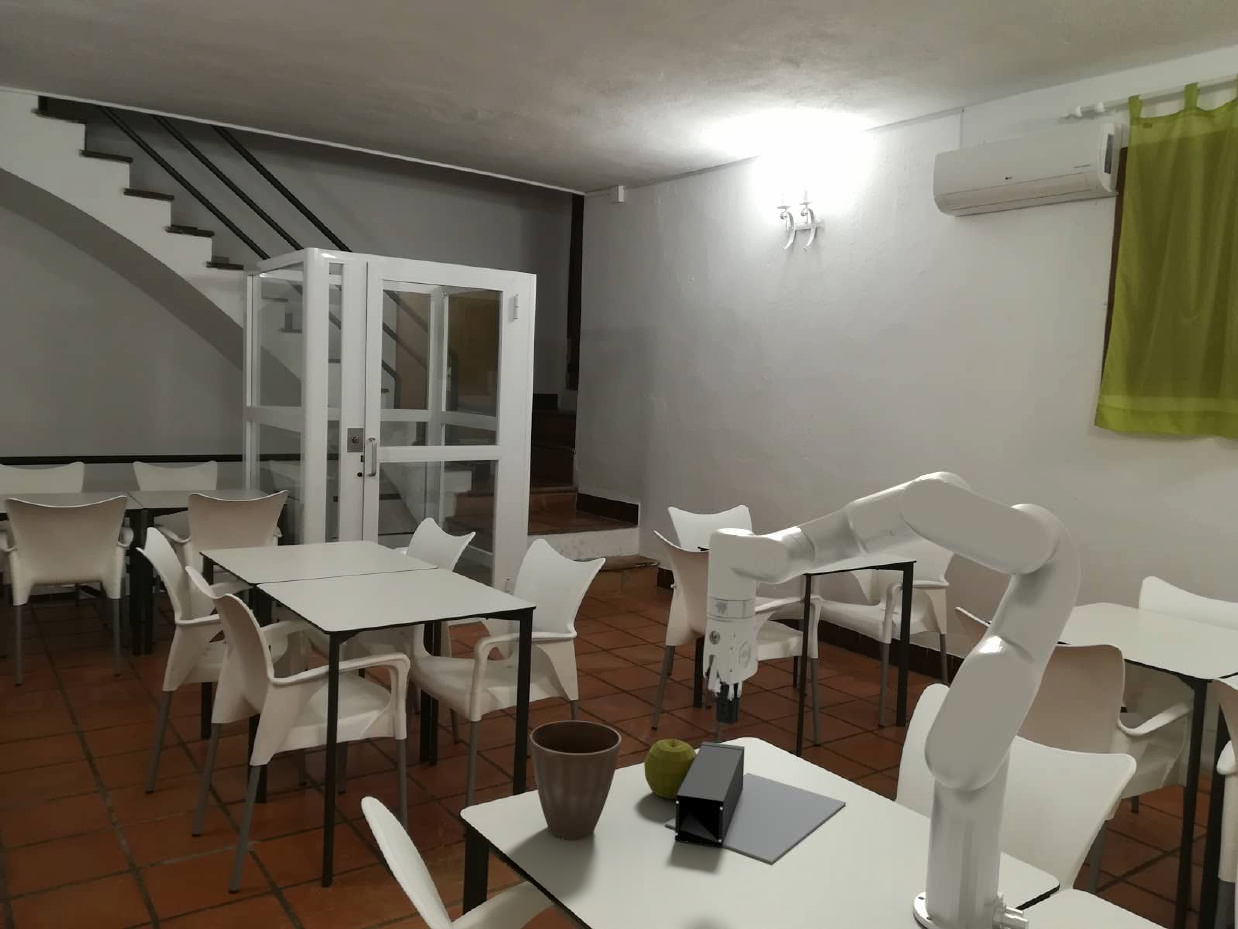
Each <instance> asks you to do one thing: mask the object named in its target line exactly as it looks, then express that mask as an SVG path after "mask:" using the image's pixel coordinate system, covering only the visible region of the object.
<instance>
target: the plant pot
mask: <svg viewBox="0 0 1238 929" xmlns="http://www.w3.org/2000/svg"><path fill="white" fill-rule="evenodd" d="M529 740H530V747H531V748H530V750H531V759H532V767H533V773H534V779H535V780H534V781H535V784H536V787H537V793H538V798H539V802H540V806H541V809H542V812H543V815H544V816H543V817H544V818H545V822H546V825H547V828H548V830H549V833H550V832H551V833H552V834H551V833H550V834H551V835H552V836H554V835H555V836H554V837H556V838H558V837H559V839H561V838H564V839H563V840H566V839H570V840H569V841H577V839H579V840H583V839H582V838H584V839H586V838H588V837H590V836H591V835H592V834H593V833H594V831H595V829H596V826H597V825H598V823H599V821H600V818H601V816H602V812H603V810H604V807H605V805H606V802H607V799H608V795H609V793H610V790H611V786H612V783H613V781H614V776H615V772H616V768H617V764H618V759H619V754H620V749H621V742H622V737H621V734H620V733H619V732H618V731H617V730H615V729H614V728H612V727H610V726H607V725H604V724H602V723H596V722H593V721H585V720H560V721H553V722H548V723H545V724H542V725H540V726H537V727H536V728H534V729H533V730H532V731H531V733H530V735H529ZM574 839H575V840H574Z"/></svg>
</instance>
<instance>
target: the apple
mask: <svg viewBox="0 0 1238 929" xmlns="http://www.w3.org/2000/svg"><path fill="white" fill-rule="evenodd" d="M696 755H697V752H696V750H695V749H694V748H693V747H692V746H691V745H690V744H689V743H687V742H684V741H682V740H681V739H680V740H678V739H676V738H675V739H674V737H672V738H670V739H669V738H667V739H660V740H657V741H656V742H654V744H653V745H652V746H651V747H650V749H649V750H648V752H647V754H646V756H645V758H644V760H643V762H644V763H643V765H644V766H643V767H644V777H645V780H646V782H647V784H648V787H649V788H650V790H651V792H653V793H655V794H656V795H658V796H660V797H662V798H665V799H668V800H676V795H677V793H678V791H679V789H680V787H681V785H682V783H683V781H684V779H685V777H686V775H687V773H688V771H689V769H690V767H691V765H692V763H693V761H694V759H695V757H696Z"/></svg>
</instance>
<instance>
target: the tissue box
mask: <svg viewBox="0 0 1238 929" xmlns="http://www.w3.org/2000/svg"><path fill="white" fill-rule="evenodd" d="M745 748H746V747H745V746H743V745H742V746H741V745H734V744H726V743H717V742H711V741H709V742H708V741H702V743H701V744H700V747H699V749H698V751H697V752H696V754H697V755H696V757H695V759H694V761H693V763H692V765H691V767H690V769H689V771H688V773H687V775H686V777H685V779H684V781H683V783H682V785H681V787H680V789H679V791H678V793H677V795H676V799H675V817H676V821H675V829H674V832H675V833H674V841H677V842H684V843H690V844H695V845H696V844H697V845H704V846H711V847H717V848H722V847H723V842H724V840H725V837H726V834H727V831H728V828H729V825H730V822H731V820H732V817H733V814H734V811H735V808H736V805H737V802H738V799H739V797H740V794H741V791H742V789H743V775H745V773H744V771H745V770H744V769H745V767H744V766H745ZM688 811H689V812H690V813H691V814H692V815H693V816H694V817H695V818H696V819H697V820H698V821H699V822H700V823H701V824H702V825H703V826H704V827H705V828H706V829H707V830H708V831H709V832H710V833H711V834H712V835H713V836H714V837H715V838H716V839H717V840H718V842H716V841H713V840H710V839H707V838H704V837H701V836H698V835H696V834H693V833H690V832H687V831H684V830H681V829H680V828H681V826H682V824H683V822H684V819H685V817H686V815H687V813H688Z"/></svg>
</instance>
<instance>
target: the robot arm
mask: <svg viewBox="0 0 1238 929" xmlns="http://www.w3.org/2000/svg"><path fill="white" fill-rule="evenodd" d="M709 536H710V537H709V539H708V540H709V543H708V573H707V600H706V602H707V603H706V617H708V618H707V623H706V627H705V628H706V629H705V636H704V643H703V644H704V645H703V656H702V657H703V659H702V660H703V661H702V671H703V672H702V674H703V678H704V679H705V680H707V681H708V686H707V690H708V691H709V692H713V693H714V696H715V697H716V708H715V710H716V711H715V713H716V714H715V720H716V722H720V723H723V724H728V725H734V724H735V723H736V724H737V723H738V722H739V720H740V719H739V718H740V715H739V714H740V713H739V712H740V697H741V695H742V689H743V683H744V681H746V680H747V679H749V678H750V677H753V676H754V675H755V674H756V673H757V671H758V668H759V667H758V665H759V663H758V662H759V657H758V656H759V653H758V652H759V650H758V649H759V648H758V647H759V646H758V645H759V643H758V641H759V640H758V629H757V628H758V627H757V626H758V625H757V620H756V592H757V591H756V587H757V582H759V583H763V584H767V585H778V584H783V583H785V582H787V581H790V580H793V579H794V578H796V577H798V576H802V575H803V574H806V573H809V572H812V571H814V570H818V569H821V568H823V567H827V566H829V565H834V564H836V563H839V562H843V561H845V560H849V559H853V558H871V557H876V556H879V555H881V554H885V553H888V552H891V551H894V550H897V549H900V548H903V547H906V546H910V545H913V544H915V543H919V542H921V541H928V542H930V543H932V544H934V545H936V546H939V547H941V548H943V549H945V550H947V551H949V552H952V553H954V554H957V555H958V556H960V557H963V558H966V559H968V560H970V561H973V562H975V563H978V564H979V565H982V566H985V567H987V568H989V569H991V570H993V571H996V572H999V573H1001V574H1005V575H1011V578H1010V581H1009V584H1008V586H1007V589H1006V590H1005V592H1004V594H1003V596H1002V599H1001V600H1000V602H999V605H998V607H997V610H996V613H995V614H994V616H993V618H992V620H991V622H990V624H989V626H988V627H987V629H986V631H985V633H984V634H983V637H982V638H981V639H980V641H979V642H978V643H976V645H975V646H974V648H973V649H972V650H971V651H970V652H969V654H968V655H967V656H966V657H965V659H964V660H963V662H962V663H961V664H960V667H959V668H958V671H957V672H956V674H955V676H954V678H953V680H952V682H951V684H950V686H949V689H948V691H947V692H946V695H945V697H944V699H943V701H942V703H941V705H940V707H939V709H938V711H937V713H936V714H935V718H934V720H933V722H932V723H931V725H930V728H929V730H928V732H927V734H926V737H925V739H924V742H923V743H924V745H923V755H924V760H925V764H926V766H927V769H928V770H929V772H930V774H931V775H932V776H933V786H932V797H931V808H930V821H929V822H930V823H929V835H928V836H929V840H928V848H927V849H928V851H927V853H928V854H927V866H926V878H925V879H926V880H925V883H926V884H925V891H923V892H920V893H919V894H918V895H916V897H915V898H914V899H913V903H912V912H913V915H914V917H915V918H916V919H917V921H918V922H919V923H920V924H921V925H922V926H924V927H925V928H927V929H1006V928H1007V929H1029V926H1030V921H1029V919H1027V918H1024V913H1025V912H1024V911H1023V910H1020V909H1017V908H1013V907H1010V906H1008V905H1007V903H1004V892H1003V891H999V880H1000V879H999V878H1000V866H1001V864H1000V863H1001V852H1002V838H1003V826H1004V825H1003V823H1004V814H1005V802H1006V791H1007V784H1008V783H1007V782H1008V775H1009V767H1010V760H1011V753H1012V752H1011V750H1012V744H1013V742H1014V740H1015V738H1016V736H1017V734H1018V732H1019V730H1020V728H1021V727H1022V724H1023V723H1024V720H1025V718H1026V716H1027V714H1028V713H1029V710H1030V708H1031V707H1032V704H1033V702H1034V701H1035V698H1036V696H1037V694H1038V692H1039V689H1040V686H1041V684H1042V680H1043V676H1044V673H1045V670H1046V668H1047V665H1048V663H1049V661H1050V659H1051V657H1052V654H1053V653H1054V651H1055V648H1056V647H1057V644H1058V643H1059V641H1060V639H1061V636H1062V634H1063V632H1064V629H1065V627H1066V625H1067V622H1068V621H1069V618H1070V616H1071V614H1072V612H1073V610H1074V607H1075V604H1076V602H1077V599H1078V595H1079V591H1080V585H1081V578H1082V577H1081V576H1082V574H1081V573H1082V571H1081V570H1082V569H1081V560H1080V555H1079V551H1078V548H1077V545H1076V543H1075V541H1074V539H1073V537H1072V534H1071V533H1070V532H1069V531H1068V529H1067V527H1066V526H1065V525H1064V524H1063V522H1062V521H1061V519H1059V518H1058V517H1057V516H1056V515H1055V514H1053V513H1052V512H1051V511H1049V509H1046V508H1044V507H1043V506H1040V505H1038V504H1034V503H1033V504H1032V503H1019V504H1015V505H1012V506H1011V505H1007V504H1006V503H1003V502H1001V501H998V500H995V499H993V498H990V497H988V496H985V495H982V494H981V493H978V492H975V491H973V490H972V488H971V487H970V485H969V483H967V482H966V480H964V479H963V477H961V476H959V475H958V474H956V473H952V472H949V471H938V472H933V473H928V474H925V475H921V476H919V477H917V478H915V479H913V480H910V481H907V482H904V483H901V484H899V485H895V486H893V487H890V488H887V489H884V490H882V491H881V490H880V491H879V492H876V493H871V494H870V495H867V496H864V497H862V498H858V499H855V500H853V501H851V502H849V503H847V504H846V505H845V506H844V507H842V508H841V509H839V510H836V511H834V512H832V513H829V514H827V515H824V516H822V517H819V518H815V519H813V520H810V521H807V522H804V523H801V524H799V525H795V526H792V527H789V528H786V529H781V530H779V531H775V532H771V533H768V534H761V535H756V533H754V532H753V531H752V530H749V529H743V528H731V527H730V528H729V527H728V528H718V529H715V530H713V531H712V533H710V535H709Z"/></svg>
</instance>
